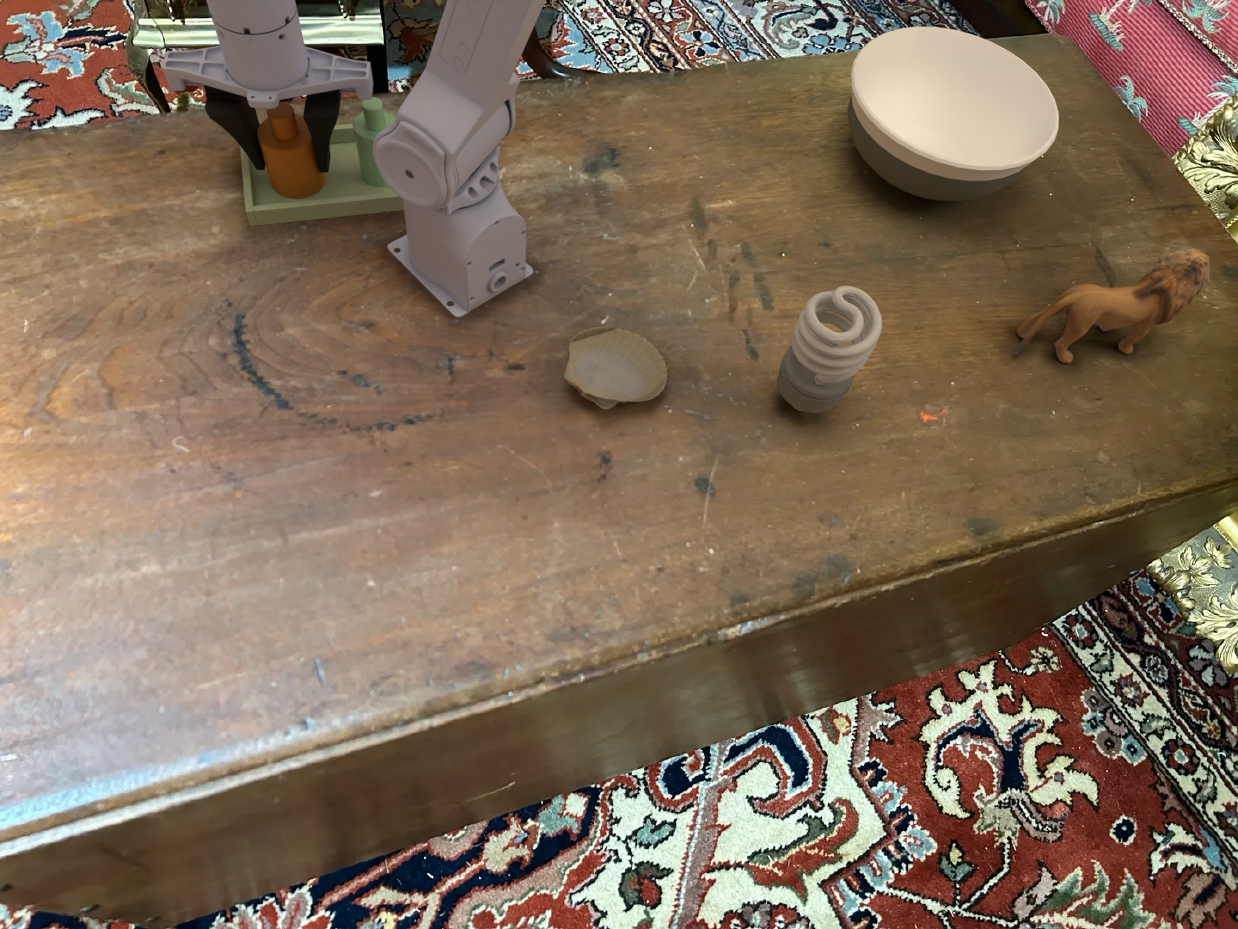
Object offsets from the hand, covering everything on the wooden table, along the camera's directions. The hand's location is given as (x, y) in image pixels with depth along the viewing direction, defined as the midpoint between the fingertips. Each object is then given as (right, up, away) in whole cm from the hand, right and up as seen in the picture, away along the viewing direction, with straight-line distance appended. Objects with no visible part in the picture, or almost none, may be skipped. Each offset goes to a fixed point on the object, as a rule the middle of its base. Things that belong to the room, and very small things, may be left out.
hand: (293, 162), depth 74 cm
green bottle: (+7, 0, +3) cm, 7 cm away
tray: (+5, 0, +3) cm, 6 cm away
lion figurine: (+67, -14, +3) cm, 68 cm away
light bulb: (+41, -20, -3) cm, 46 cm away
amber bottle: (0, -1, +2) cm, 2 cm away
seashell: (+26, -18, -4) cm, 32 cm away
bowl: (+55, +4, +12) cm, 57 cm away
